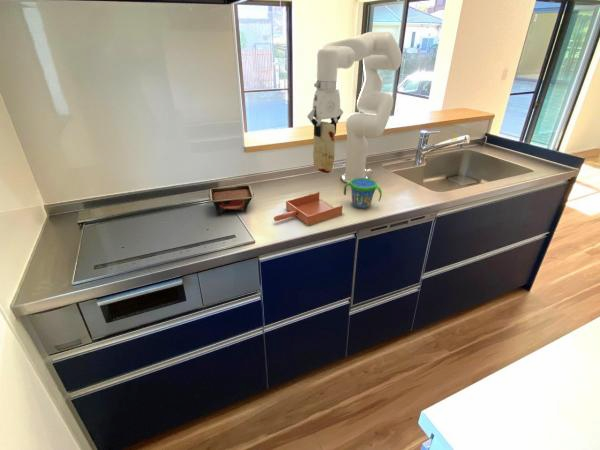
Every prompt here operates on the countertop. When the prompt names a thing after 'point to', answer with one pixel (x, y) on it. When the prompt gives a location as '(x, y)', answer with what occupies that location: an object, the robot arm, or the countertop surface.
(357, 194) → the snack cup
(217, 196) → the baking dish
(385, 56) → the robot arm
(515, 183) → the countertop surface
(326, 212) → the scoop
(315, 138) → the food model
